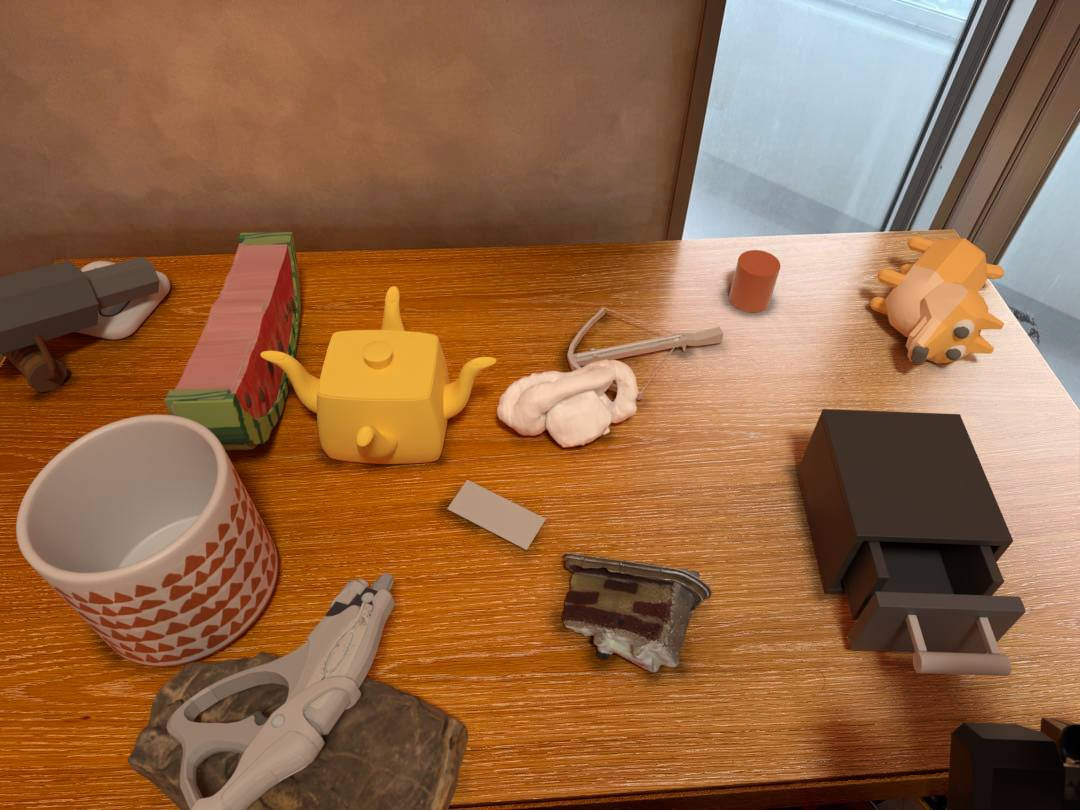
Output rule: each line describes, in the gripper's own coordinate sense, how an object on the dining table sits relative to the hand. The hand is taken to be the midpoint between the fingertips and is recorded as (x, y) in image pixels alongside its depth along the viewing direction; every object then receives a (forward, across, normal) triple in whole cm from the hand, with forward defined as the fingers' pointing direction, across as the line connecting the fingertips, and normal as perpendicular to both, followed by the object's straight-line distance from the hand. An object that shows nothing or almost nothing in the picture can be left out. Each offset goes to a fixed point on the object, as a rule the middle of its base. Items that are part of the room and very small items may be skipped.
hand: (1047, 726), depth 48 cm
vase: (+17, +56, -1) cm, 59 cm away
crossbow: (+38, +19, -21) cm, 47 cm away
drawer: (+17, +1, -2) cm, 17 cm away
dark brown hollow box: (+23, +1, -7) cm, 24 cm away
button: (+44, +74, -29) cm, 91 cm away
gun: (+8, +50, 0) cm, 51 cm away
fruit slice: (+32, +56, -16) cm, 67 cm away
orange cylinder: (+44, +7, -28) cm, 53 cm away
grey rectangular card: (+22, +33, -7) cm, 41 cm away
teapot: (+30, +44, -14) cm, 55 cm away
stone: (+9, +45, +8) cm, 46 cm away
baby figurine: (+30, +29, -20) cm, 46 cm away
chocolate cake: (+16, +23, 0) cm, 28 cm away
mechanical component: (+30, +75, -27) cm, 85 cm away
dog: (+42, -6, -30) cm, 53 cm away
